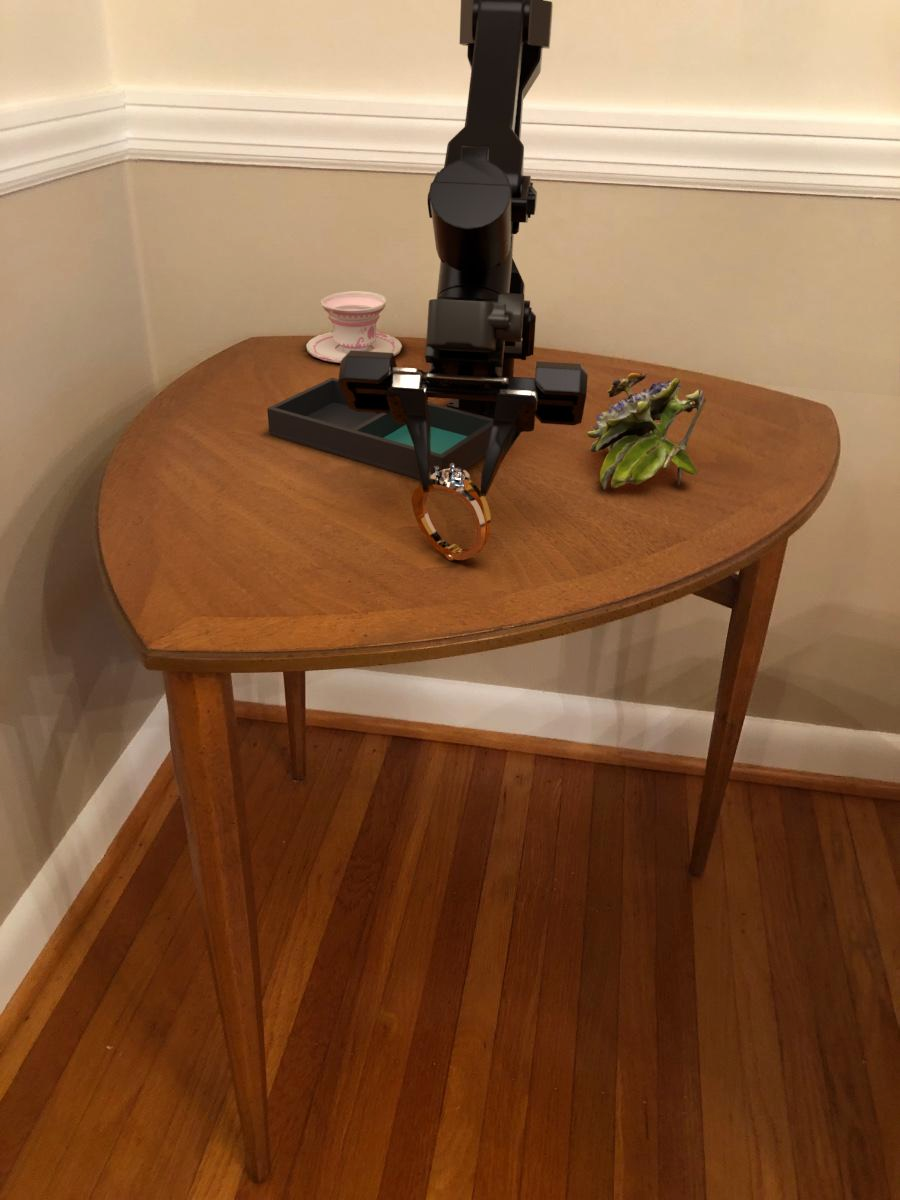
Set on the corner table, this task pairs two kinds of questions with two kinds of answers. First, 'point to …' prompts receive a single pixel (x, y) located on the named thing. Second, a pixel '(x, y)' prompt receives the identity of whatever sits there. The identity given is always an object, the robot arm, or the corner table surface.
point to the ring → (469, 493)
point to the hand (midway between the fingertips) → (453, 492)
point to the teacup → (352, 327)
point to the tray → (377, 431)
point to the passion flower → (643, 431)
